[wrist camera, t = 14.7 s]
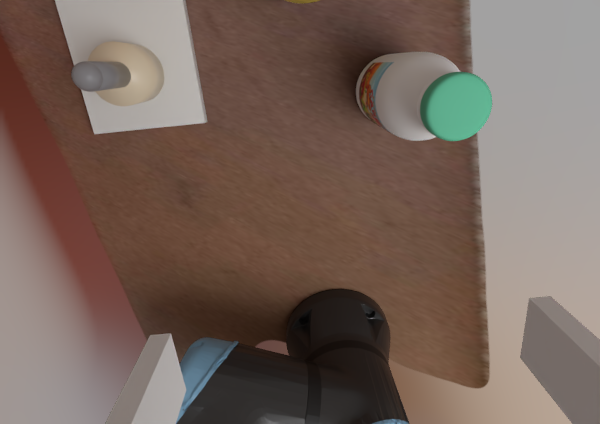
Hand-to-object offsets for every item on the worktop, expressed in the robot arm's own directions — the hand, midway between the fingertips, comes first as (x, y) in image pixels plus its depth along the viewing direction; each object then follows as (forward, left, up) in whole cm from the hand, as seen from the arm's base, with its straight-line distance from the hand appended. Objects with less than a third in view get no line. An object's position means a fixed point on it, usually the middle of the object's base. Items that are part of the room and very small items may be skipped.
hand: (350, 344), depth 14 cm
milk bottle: (+6, -10, -35) cm, 37 cm away
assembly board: (+17, +18, -35) cm, 43 cm away
